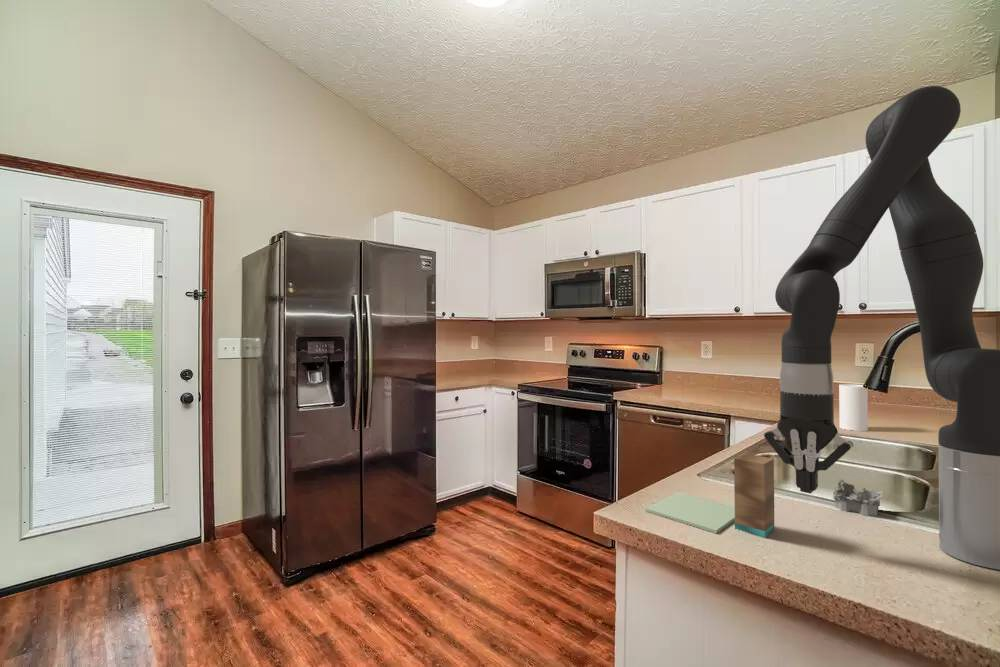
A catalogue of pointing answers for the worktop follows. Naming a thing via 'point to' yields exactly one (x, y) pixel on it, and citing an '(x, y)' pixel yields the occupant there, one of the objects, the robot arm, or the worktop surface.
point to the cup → (853, 407)
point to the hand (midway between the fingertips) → (806, 491)
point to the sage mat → (695, 511)
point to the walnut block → (754, 494)
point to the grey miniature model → (856, 499)
